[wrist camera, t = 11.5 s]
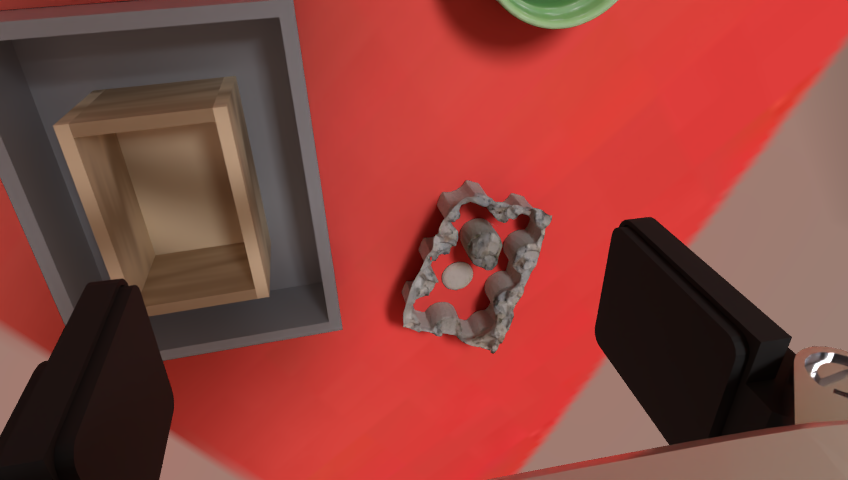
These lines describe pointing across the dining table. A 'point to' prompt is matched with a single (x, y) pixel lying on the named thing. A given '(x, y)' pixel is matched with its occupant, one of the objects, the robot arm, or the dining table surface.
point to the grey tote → (155, 64)
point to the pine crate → (171, 191)
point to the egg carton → (483, 252)
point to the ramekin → (556, 11)
